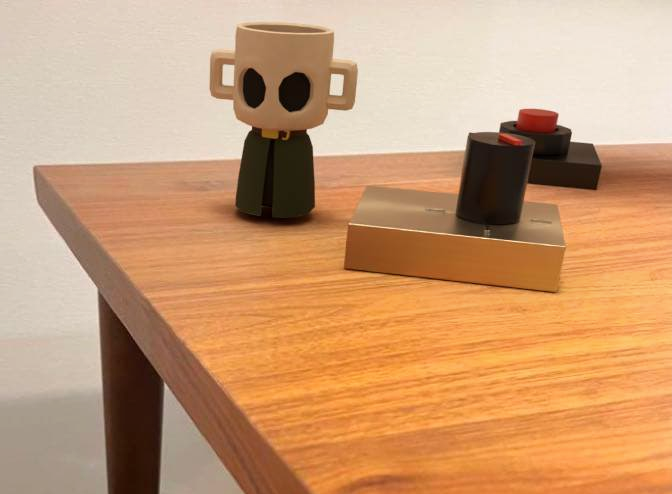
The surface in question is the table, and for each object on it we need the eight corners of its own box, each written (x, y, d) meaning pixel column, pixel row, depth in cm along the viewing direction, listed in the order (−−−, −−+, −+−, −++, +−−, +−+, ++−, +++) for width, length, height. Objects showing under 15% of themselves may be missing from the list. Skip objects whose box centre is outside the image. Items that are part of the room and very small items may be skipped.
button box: (587, 167, 96) (597, 123, 94) (596, 190, 87) (607, 143, 85) (465, 155, 97) (472, 112, 95) (462, 177, 89) (469, 131, 87)
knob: (444, 208, 68) (456, 127, 65) (500, 206, 69) (514, 126, 66) (474, 225, 64) (488, 141, 61) (532, 223, 66) (549, 140, 63)
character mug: (194, 218, 74) (197, 25, 66) (218, 196, 79) (223, 17, 72) (336, 234, 72) (354, 38, 65) (349, 210, 78) (367, 28, 71)
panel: (548, 245, 72) (558, 201, 70) (556, 292, 63) (567, 244, 61) (362, 225, 74) (367, 182, 72) (343, 268, 65) (348, 221, 63)
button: (553, 130, 92) (557, 110, 91) (555, 137, 89) (559, 117, 88) (515, 127, 92) (518, 107, 91) (515, 134, 89) (519, 113, 88)
